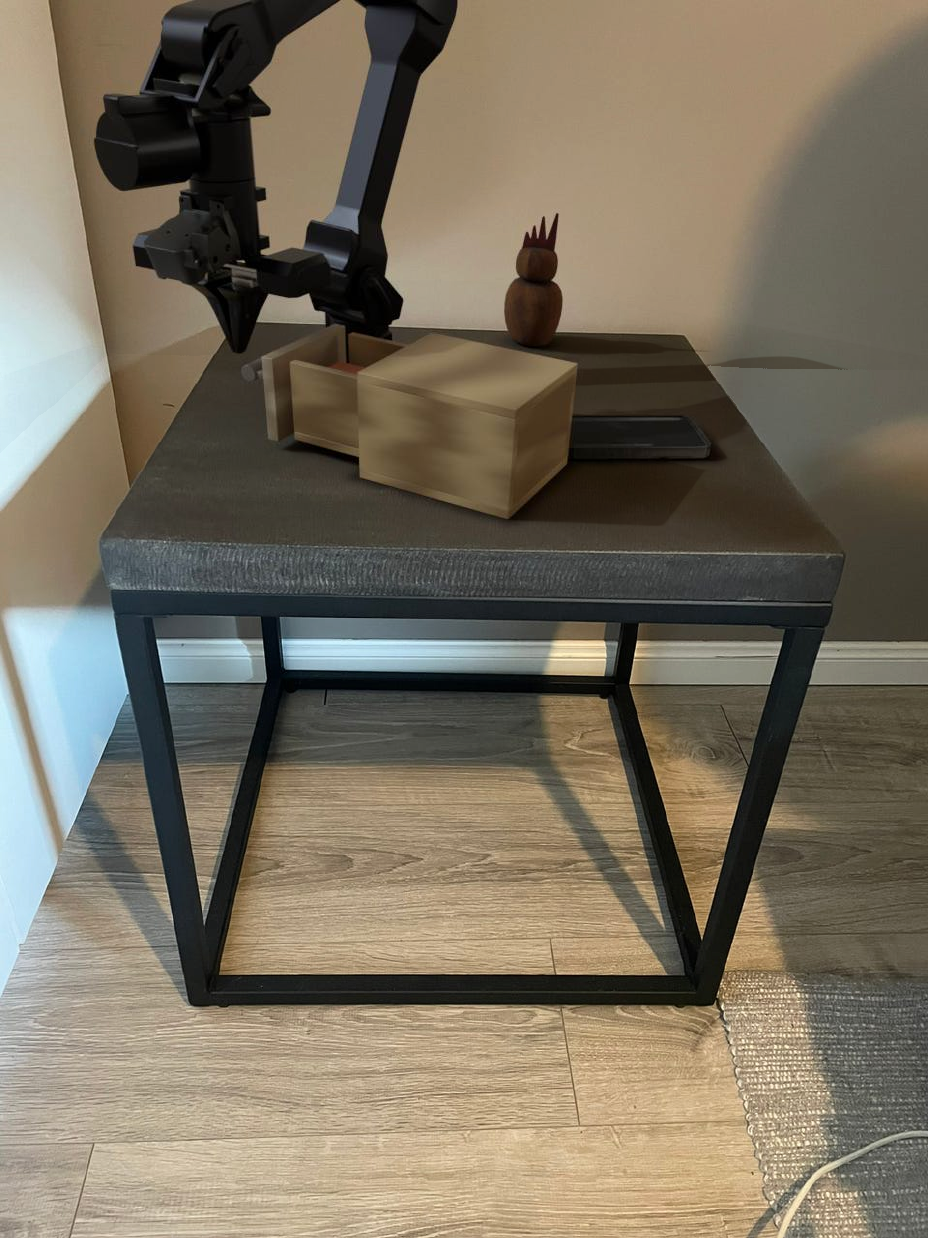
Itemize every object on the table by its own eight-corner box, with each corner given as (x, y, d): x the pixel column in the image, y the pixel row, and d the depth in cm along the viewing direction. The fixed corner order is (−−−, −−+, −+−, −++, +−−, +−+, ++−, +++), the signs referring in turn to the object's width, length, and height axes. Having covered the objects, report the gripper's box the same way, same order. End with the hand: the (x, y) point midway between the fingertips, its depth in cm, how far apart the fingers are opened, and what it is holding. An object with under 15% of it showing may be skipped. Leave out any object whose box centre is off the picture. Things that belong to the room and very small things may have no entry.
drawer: (231, 428, 89) (222, 347, 85) (302, 391, 98) (298, 315, 93) (393, 474, 83) (392, 388, 78) (455, 429, 91) (457, 349, 87)
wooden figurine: (565, 342, 117) (579, 212, 108) (543, 354, 113) (555, 220, 104) (518, 330, 120) (527, 203, 111) (494, 342, 115) (502, 211, 107)
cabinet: (359, 477, 84) (356, 372, 78) (429, 429, 93) (431, 332, 88) (508, 519, 78) (516, 409, 73) (566, 464, 88) (578, 363, 82)
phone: (543, 415, 94) (690, 414, 96) (542, 425, 95) (688, 425, 96) (558, 448, 88) (714, 447, 89) (556, 459, 88) (712, 458, 90)
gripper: (72, 176, 80) (105, 357, 89) (248, 206, 73) (264, 398, 82) (165, 159, 88) (186, 326, 97) (331, 184, 82) (337, 361, 90)
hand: (239, 352), depth 92 cm, fingers closed
